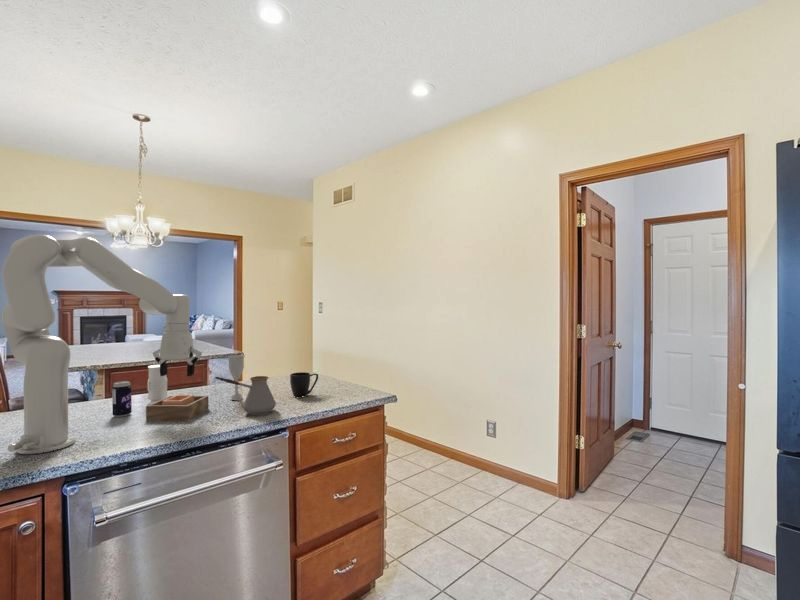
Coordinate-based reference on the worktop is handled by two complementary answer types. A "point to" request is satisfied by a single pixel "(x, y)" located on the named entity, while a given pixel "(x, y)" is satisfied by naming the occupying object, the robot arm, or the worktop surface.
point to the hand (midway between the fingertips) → (177, 375)
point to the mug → (301, 383)
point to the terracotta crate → (179, 400)
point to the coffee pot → (256, 396)
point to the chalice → (236, 372)
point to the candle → (156, 384)
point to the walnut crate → (176, 409)
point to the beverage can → (121, 398)
